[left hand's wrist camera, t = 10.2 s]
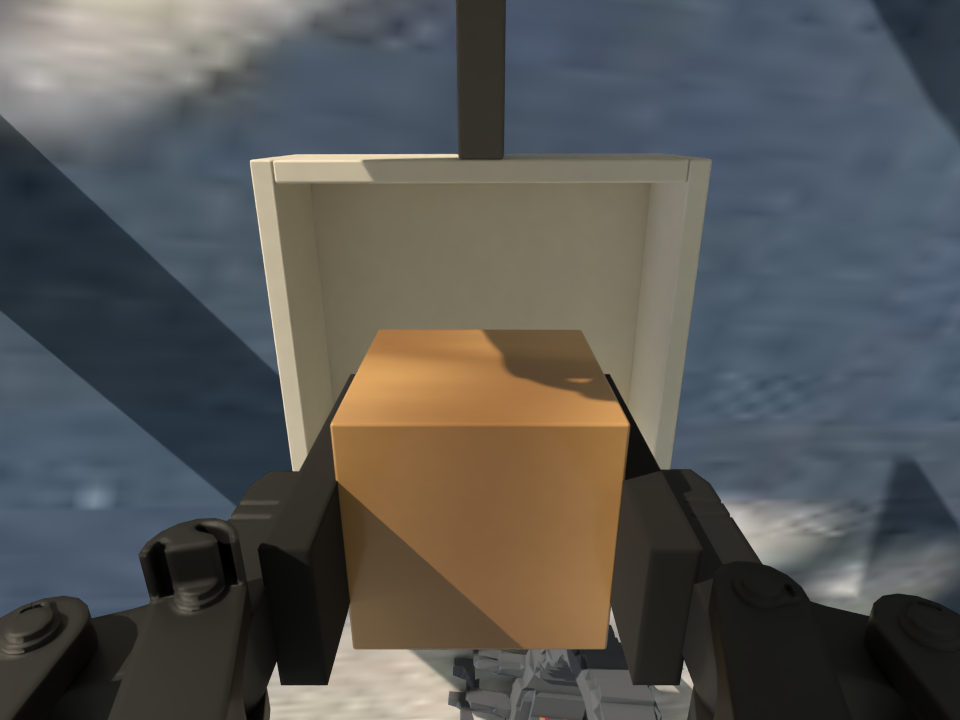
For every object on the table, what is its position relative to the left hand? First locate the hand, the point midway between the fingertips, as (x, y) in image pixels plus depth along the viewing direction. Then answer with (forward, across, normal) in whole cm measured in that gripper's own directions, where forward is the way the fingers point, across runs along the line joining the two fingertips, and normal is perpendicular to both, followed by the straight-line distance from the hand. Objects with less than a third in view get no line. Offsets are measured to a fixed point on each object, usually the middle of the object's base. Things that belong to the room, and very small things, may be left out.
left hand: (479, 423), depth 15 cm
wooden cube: (0, 0, 0) cm, 0 cm away
